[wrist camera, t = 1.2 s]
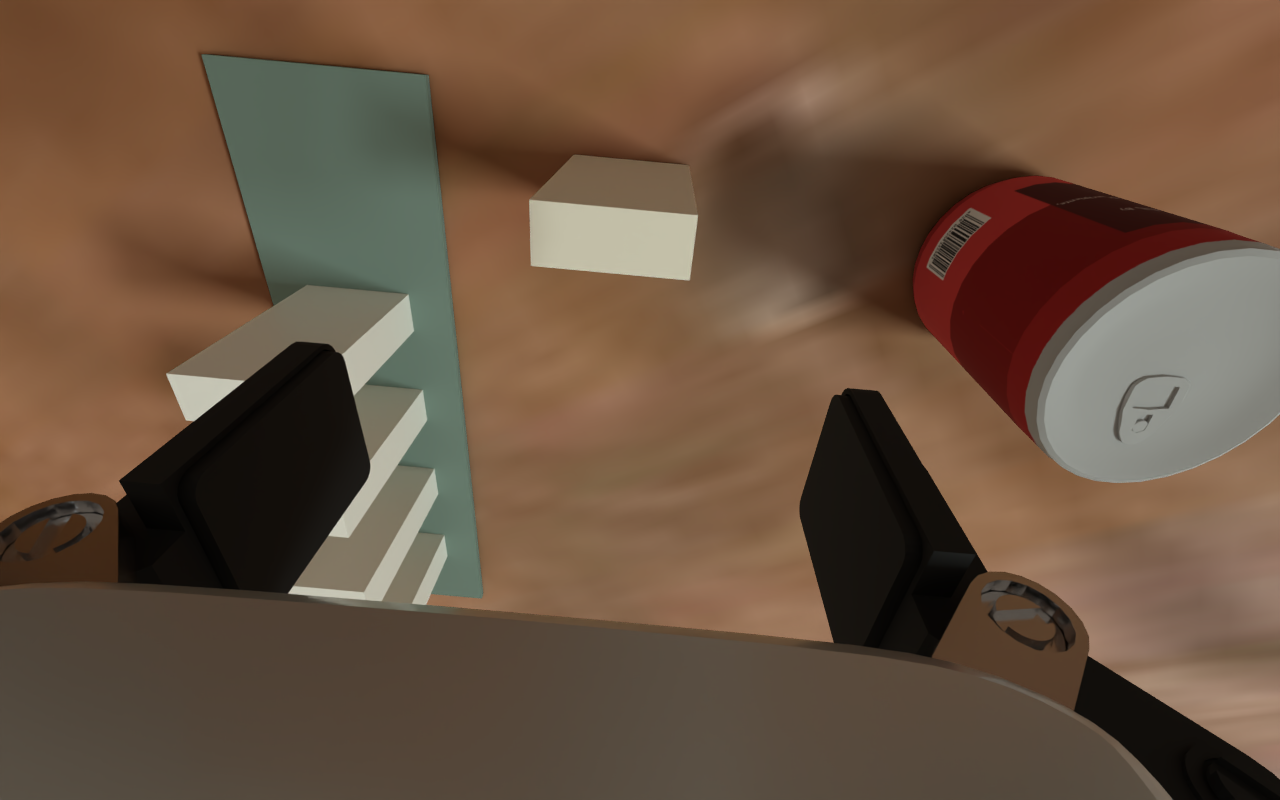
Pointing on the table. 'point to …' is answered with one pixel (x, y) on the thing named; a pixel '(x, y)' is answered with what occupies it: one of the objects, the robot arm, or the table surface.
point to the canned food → (1106, 325)
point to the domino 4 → (418, 570)
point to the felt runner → (360, 237)
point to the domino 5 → (615, 218)
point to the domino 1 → (312, 314)
